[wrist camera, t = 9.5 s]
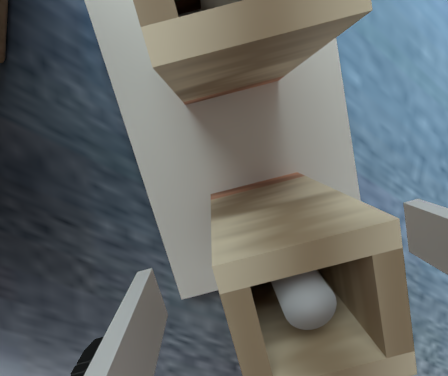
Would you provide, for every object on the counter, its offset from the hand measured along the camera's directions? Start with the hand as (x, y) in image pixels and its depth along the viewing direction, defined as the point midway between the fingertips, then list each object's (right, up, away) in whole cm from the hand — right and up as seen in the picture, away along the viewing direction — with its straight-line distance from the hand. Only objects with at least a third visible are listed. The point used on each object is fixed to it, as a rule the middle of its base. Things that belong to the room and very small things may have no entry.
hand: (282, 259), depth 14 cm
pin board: (-2, +7, +6) cm, 9 cm away
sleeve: (0, +1, +5) cm, 5 cm away
